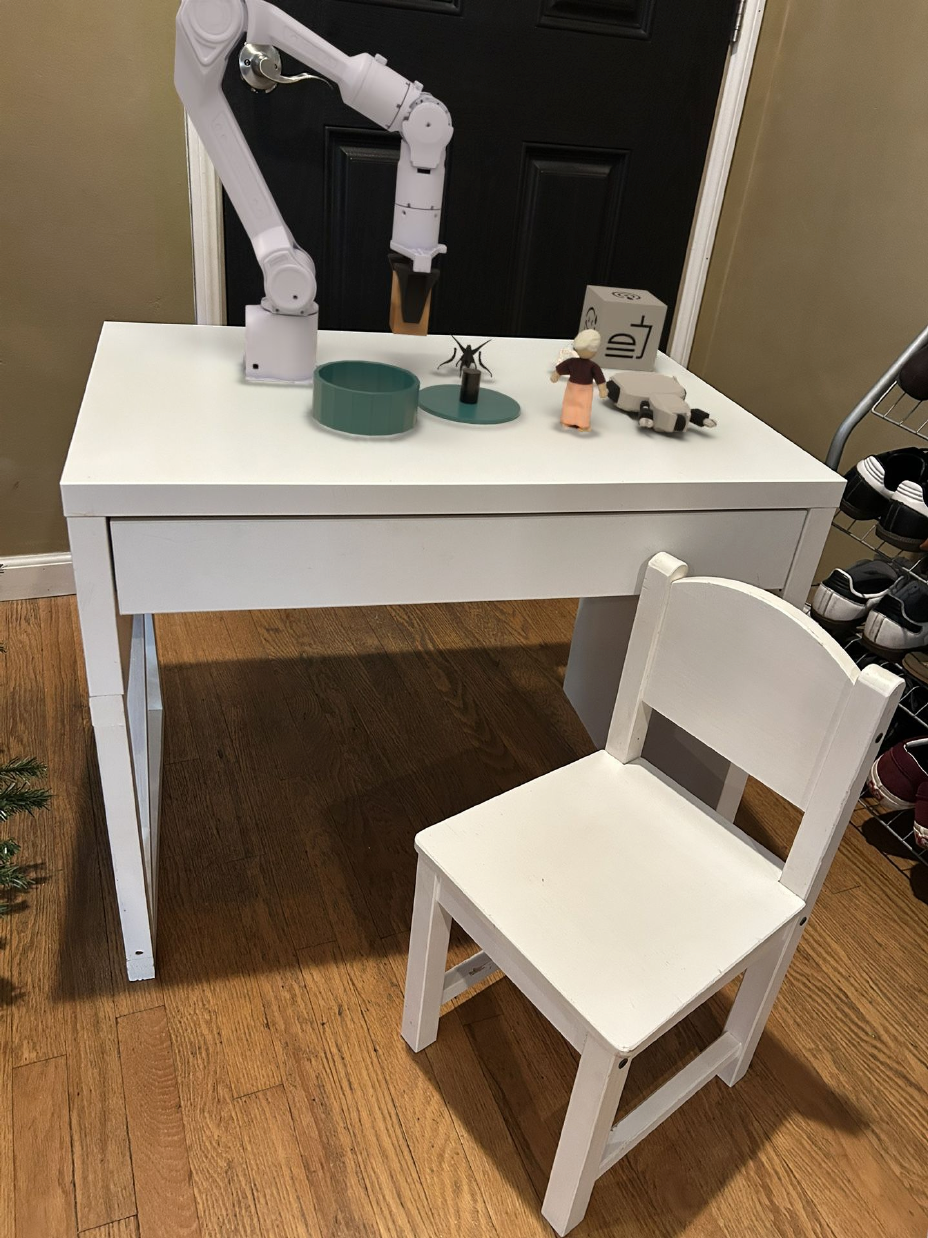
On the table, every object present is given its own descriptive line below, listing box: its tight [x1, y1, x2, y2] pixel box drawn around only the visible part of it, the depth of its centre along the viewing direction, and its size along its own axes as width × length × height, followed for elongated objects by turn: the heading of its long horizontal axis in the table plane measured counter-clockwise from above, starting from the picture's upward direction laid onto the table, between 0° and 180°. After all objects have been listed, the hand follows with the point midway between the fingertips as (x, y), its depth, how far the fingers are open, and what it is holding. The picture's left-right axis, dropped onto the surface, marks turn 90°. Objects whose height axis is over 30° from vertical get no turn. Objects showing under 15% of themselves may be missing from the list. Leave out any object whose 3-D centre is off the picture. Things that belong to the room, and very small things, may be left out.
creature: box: [437, 333, 493, 379], centre depth 133 cm, size 8×5×8 cm
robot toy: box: [606, 370, 718, 433], centre depth 126 cm, size 12×4×15 cm
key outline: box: [555, 348, 596, 383], centre depth 142 cm, size 13×5×2 cm, turn 11°
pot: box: [311, 359, 421, 437], centre depth 113 cm, size 12×13×6 cm
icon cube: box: [577, 284, 668, 372], centre depth 149 cm, size 10×10×10 cm
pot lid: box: [418, 367, 522, 425], centre depth 121 cm, size 14×14×5 cm
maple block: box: [388, 270, 432, 337], centre depth 122 cm, size 4×4×7 cm
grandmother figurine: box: [549, 329, 608, 432], centre depth 117 cm, size 8×4×13 cm, turn 71°
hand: (408, 317), depth 123 cm, fingers closed on maple block, 4 cm apart
